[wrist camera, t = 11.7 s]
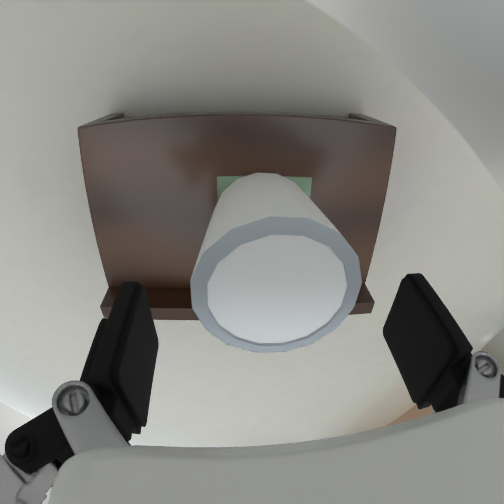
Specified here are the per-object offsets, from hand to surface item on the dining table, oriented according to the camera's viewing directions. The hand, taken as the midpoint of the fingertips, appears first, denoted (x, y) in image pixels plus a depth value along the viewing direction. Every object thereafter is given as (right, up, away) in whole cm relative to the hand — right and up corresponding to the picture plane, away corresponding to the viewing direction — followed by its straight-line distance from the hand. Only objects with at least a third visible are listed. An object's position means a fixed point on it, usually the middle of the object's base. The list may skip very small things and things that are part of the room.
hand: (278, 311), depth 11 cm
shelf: (-2, +7, +11) cm, 13 cm away
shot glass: (0, +4, +7) cm, 8 cm away
